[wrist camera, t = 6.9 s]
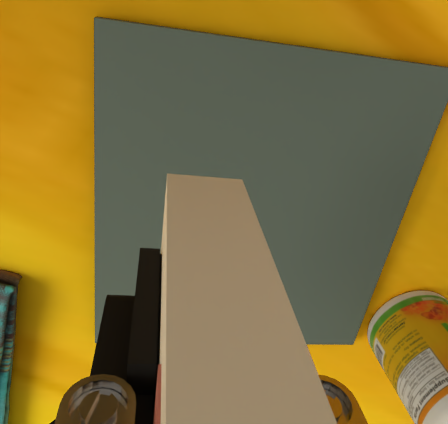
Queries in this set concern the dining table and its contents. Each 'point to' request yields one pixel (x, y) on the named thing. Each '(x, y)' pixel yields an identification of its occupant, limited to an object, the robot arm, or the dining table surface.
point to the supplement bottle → (415, 352)
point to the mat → (261, 155)
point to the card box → (227, 317)
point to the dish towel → (7, 336)
